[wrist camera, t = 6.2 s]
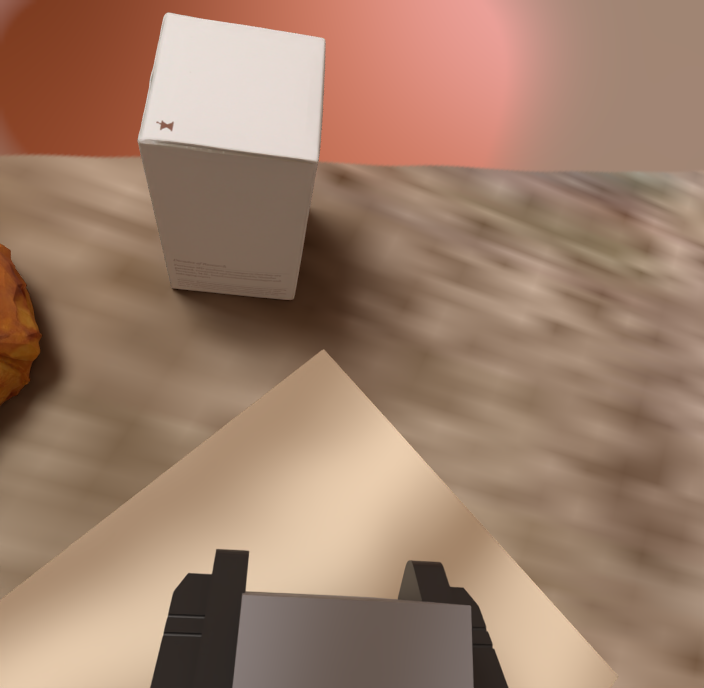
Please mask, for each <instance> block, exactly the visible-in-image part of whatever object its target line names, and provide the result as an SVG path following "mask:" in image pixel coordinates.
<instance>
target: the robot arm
mask: <svg viewBox="0 0 704 688" xmlns="http://www.w3.org/2000/svg"><path fill="white" fill-rule="evenodd" d="M248 561H249V551H247V550H229V549H216V553H215V559H214V565H213V571H212V574H198V573H188V574H187V575H186V576H185V578H184V579H183V580H182V581H181V583H180V584H179V585H178V586H177V588H176V589H175V590H174V591H173V595H172V599H171V603H170V608H169V612H168V617H167V620H166V624H165V628H164V633H163V636H162V641H161V645H160V649H159V653H158V657H157V661H156V665H155V670H154V674H153V678H152V682H151V686H150V688H232V686H233V676H234V667H235V657H236V647H237V638H238V628H239V619H240V609H241V599H242V593H245V592H246V581H247V571H248ZM398 600H410V601H421V602H434V603H446V604H458V605H470V606H471V622H472V655H473V687H474V688H508V685H507V682H506V679H505V677H504V674H503V671H502V668H501V666H500V663H499V660H498V657H497V655H496V652H495V649H493V644H492V641H491V638H490V635H489V633H488V631H487V630H486V624H485V622H484V619H483V616H482V613H481V611H480V608H479V606H478V604H477V603H476V602H475V601H474V600H473V598H472V597H471V596H470V595H469V594H468V592H467V591H466V590H465V589H464V587H450V585H449V582H448V579H447V576H446V573H445V570H444V567H443V565H442V563H441V562H433V561H415V560H409V561H408V562H407V563H406V566H405V570H404V574H403V578H402V582H401V587H400V591H399V595H398Z"/></svg>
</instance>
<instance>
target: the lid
mask: <svg viewBox="0 0 704 688" xmlns="http://www.w3.org/2000/svg"><path fill="white" fill-rule="evenodd" d="M216 549H229V550H247V551H249V561H248V571H247V581H246V592H245V593H242V599H241V609H240V619H239V628H238V638H237V647H236V657H235V667H234V676H233V686H232V688H474V687H473V655H472V622H471V606H470V605H458V604H446V603H434V602H421V601H410V600H398V595H399V591H400V587H401V582H402V578H403V574H404V570H405V566H406V563H407V562H408V561H409V560H415V561H433V562H441V563H442V565H443V567H444V570H445V573H446V576H447V579H448V582H449V585H450V587H464V589H465V590H466V591H467V592H468V594H469V595H470V596H471V597H472V598H473V600H474V601H475V602H476V603H477V604H478V606H479V608H480V611H481V613H482V616H483V619H484V622H485V624H486V630H487V631H488V633H489V635H490V638H491V641H492V644H493V649H495V652H496V655H497V657H498V660H499V663H500V666H501V668H502V671H503V674H504V677H505V679H506V682H507V685H508V688H611V687H612V685H613V684H614V682H615V681H616V679H617V678H618V675H617V674H616V673H615V672H614V671H613V670H612V669H611V668H610V667H609V665H608V664H607V663H606V662H605V661H604V660H603V659H602V658H601V657H600V655H599V654H598V653H597V652H596V651H595V650H594V649H593V648H592V647H591V645H590V644H589V643H588V642H587V641H586V640H585V639H584V638H583V637H582V635H581V634H580V633H579V632H578V631H577V630H576V629H575V628H574V627H573V625H572V624H571V623H570V622H569V621H568V620H567V619H566V618H565V617H564V615H563V614H562V613H561V612H560V611H559V610H558V609H557V608H556V607H555V605H554V604H553V603H552V602H551V601H550V600H549V599H548V598H547V597H546V595H545V594H544V593H543V592H542V591H541V590H540V589H539V588H538V587H537V585H536V584H535V583H534V582H533V581H532V580H531V579H530V578H529V577H528V575H527V574H526V573H525V572H524V571H523V570H522V569H521V568H520V567H519V565H518V564H517V563H516V562H515V561H514V560H513V559H512V558H511V557H510V555H509V554H508V553H507V552H506V551H505V550H504V549H503V548H502V547H501V545H500V544H499V543H498V542H497V541H496V540H495V539H494V538H493V537H492V535H491V534H490V533H489V532H488V531H487V530H486V529H485V528H484V527H483V525H482V524H481V523H480V522H479V521H478V520H477V519H476V518H475V517H474V515H473V514H472V513H471V512H470V511H469V510H468V509H467V508H466V507H465V505H464V504H463V503H462V502H461V501H460V500H459V499H458V498H457V497H456V495H455V494H454V493H453V492H452V491H451V490H450V489H449V488H448V487H447V485H446V484H445V483H444V482H443V481H442V480H441V479H440V478H439V477H438V475H437V474H436V473H435V472H434V471H433V470H432V469H431V468H430V467H429V465H428V464H427V463H426V462H425V461H424V460H423V459H422V458H421V457H420V455H419V454H418V453H417V452H416V451H415V450H414V449H413V448H412V447H411V445H410V444H409V443H408V442H407V441H406V440H405V439H404V438H403V437H402V435H401V434H400V433H399V432H398V431H397V430H396V429H395V428H394V427H393V425H392V424H391V423H390V422H389V421H388V420H387V419H386V418H385V417H384V415H383V414H382V413H381V412H380V411H379V410H378V409H377V408H376V407H375V405H374V404H373V403H372V402H371V401H370V400H369V399H368V398H367V397H366V395H365V394H364V393H363V392H362V391H361V390H360V389H359V388H358V387H357V385H356V384H355V383H354V382H353V381H352V380H351V379H350V378H349V377H348V375H347V374H346V373H345V372H344V371H343V370H342V369H341V368H340V367H339V365H338V364H337V363H336V362H335V361H334V360H333V359H332V358H331V357H330V355H329V354H328V353H327V352H326V351H325V350H324V349H323V350H322V351H320V352H319V353H318V354H316V355H315V356H314V357H313V358H311V359H310V360H309V361H307V362H306V363H305V364H303V365H302V366H301V367H300V368H298V369H297V370H296V371H294V372H293V373H292V374H291V375H289V376H288V377H287V378H285V379H284V380H283V381H282V382H280V383H279V384H278V385H276V386H275V387H274V388H273V389H271V390H270V391H269V392H267V393H266V394H265V395H264V396H262V397H261V398H260V399H258V400H257V401H256V402H255V403H253V404H252V405H251V406H249V407H248V408H247V409H246V410H244V411H243V412H242V413H240V414H239V415H238V416H236V417H235V418H234V419H233V420H231V421H230V422H229V423H227V424H226V425H225V426H224V427H222V428H221V429H220V430H218V431H217V432H216V433H215V434H213V435H212V436H211V437H209V438H208V439H207V440H206V441H204V442H203V443H202V444H200V445H199V446H198V447H197V448H195V449H194V450H193V451H191V452H190V453H189V454H188V455H186V456H185V457H184V458H182V459H181V460H180V461H179V462H177V463H176V464H175V465H173V466H172V467H171V468H169V469H168V470H167V471H166V472H164V473H163V474H162V475H160V476H159V477H158V478H157V479H155V480H154V481H153V482H151V483H150V484H149V485H148V486H146V487H145V488H144V489H142V490H141V491H140V492H139V493H137V494H136V495H135V496H133V497H132V498H131V499H130V500H128V501H127V502H126V503H124V504H123V505H122V506H121V507H119V508H118V509H117V510H115V511H114V512H113V513H112V514H110V515H109V516H108V517H106V518H105V519H104V520H102V521H101V522H100V523H99V524H97V525H96V526H95V527H93V528H92V529H91V530H90V531H88V532H87V533H86V534H84V535H83V536H82V537H81V538H79V539H78V540H77V541H75V542H74V543H73V544H72V545H70V546H69V547H68V548H66V549H65V550H64V551H63V552H61V553H60V554H59V555H57V556H56V557H55V558H54V559H52V560H51V561H50V562H48V563H47V564H46V565H45V566H43V567H42V568H41V569H39V570H38V571H37V572H35V573H34V574H33V575H32V576H30V577H29V578H28V579H26V580H25V581H24V582H23V583H21V584H20V585H19V586H17V587H16V588H15V589H14V590H12V591H11V592H10V593H8V594H7V595H6V596H5V597H3V598H2V599H1V600H0V688H150V686H151V682H152V678H153V674H154V670H155V665H156V661H157V657H158V653H159V649H160V645H161V641H162V636H163V633H164V628H165V624H166V620H167V617H168V612H169V608H170V603H171V599H172V595H173V591H174V590H175V589H176V588H177V586H178V585H179V584H180V583H181V581H182V580H183V579H184V578H185V576H186V575H187V574H188V573H198V574H212V571H213V565H214V559H215V553H216Z"/></svg>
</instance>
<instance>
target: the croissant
mask: <svg viewBox="0 0 704 688" xmlns="http://www.w3.org/2000/svg"><path fill="white" fill-rule="evenodd" d="M26 286H27V285H26V283H25V282H24V280H23V279H22V277H21V276H20V274H19V273H18V271H17V270H16V269H15V265H14V264H13V262H12V261H11V250H9V249H8V248H6V247H5V246H3V245H2V244H0V406H1V405H2V404H3V403H4V402H5V401H7V400H8V399H10V398H11V397H13V396H16V395H17V394H18V393H19V392H20V390H21V389H22V388H23V387H24V385H27V384H28V382H30V378H29V373H30V368H31V364H32V362H33V361H34V360H35V359H36V358H37V356H38V355H39V353H40V347H39V340H40V339H41V337H42V334H40V332H39V329H38V326H37V324H36V322H35V317H34V309H33V306H32V302H31V299H30V296H29V293H28V291H27V289H26Z"/></svg>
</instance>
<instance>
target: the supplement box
mask: <svg viewBox="0 0 704 688" xmlns="http://www.w3.org/2000/svg"><path fill="white" fill-rule="evenodd" d="M324 74H325V39H324V38H319V37H313V36H307V35H301V34H296V33H290V32H283V31H276V30H270V29H265V28H259V27H253V26H246V25H239V24H232V23H226V22H219V21H213V20H206V19H200V18H195V17H189V16H184V15H177V14H173V13H166V15H165V16H164V18H163V23H162V27H161V33H160V38H159V43H158V47H157V52H156V57H155V62H154V67H153V70H152V73H151V78H150V85H149V91H148V96H147V101H146V105H145V110H144V114H143V119H142V124H141V129H140V133H139V136H138V144H139V149H140V153H141V158H142V162H143V167H144V171H145V175H146V179H147V184H148V188H149V192H150V197H151V201H152V206H153V210H154V214H155V219H156V223H157V227H158V232H159V236H160V240H161V245H162V249H163V253H164V258H165V262H166V267H167V271H168V275H169V279H170V284H171V287H172V288H176V289H184V290H192V291H202V292H213V293H221V294H232V295H240V296H252V297H261V298H272V299H283V300H292V299H294V296H295V291H296V286H297V281H298V275H299V269H300V263H301V257H302V252H303V246H304V239H305V233H306V227H307V221H308V216H309V210H310V204H311V198H312V193H313V187H314V181H315V176H316V170H317V165H318V161H319V154H320V143H321V130H322V113H323V95H324Z"/></svg>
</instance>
